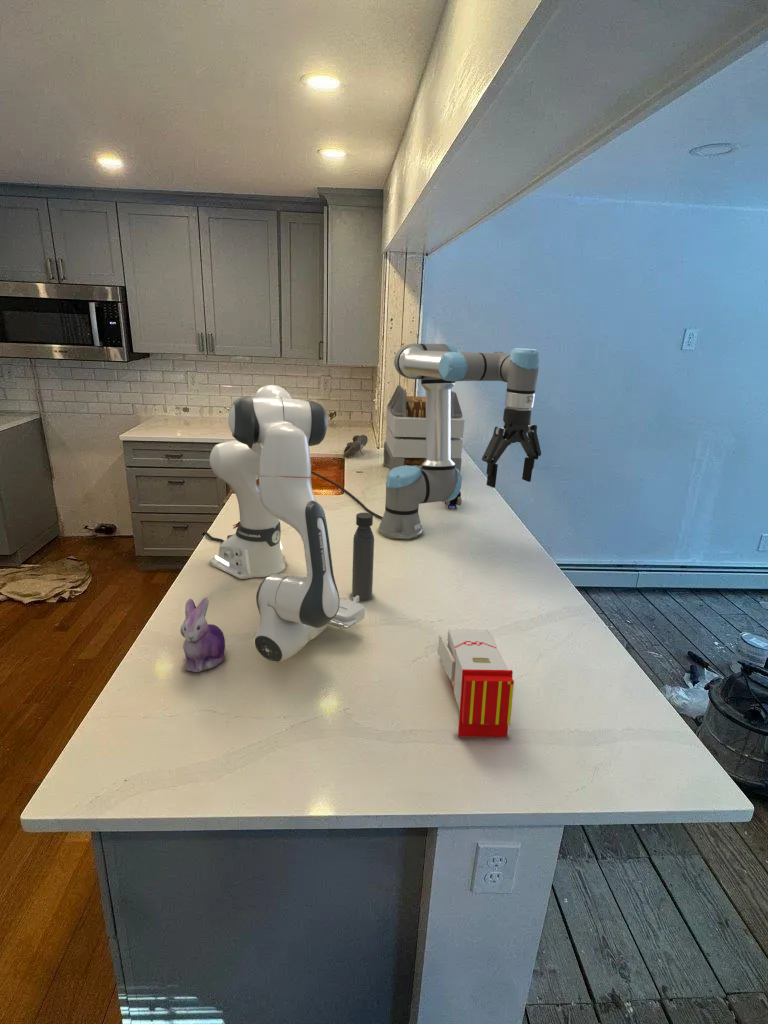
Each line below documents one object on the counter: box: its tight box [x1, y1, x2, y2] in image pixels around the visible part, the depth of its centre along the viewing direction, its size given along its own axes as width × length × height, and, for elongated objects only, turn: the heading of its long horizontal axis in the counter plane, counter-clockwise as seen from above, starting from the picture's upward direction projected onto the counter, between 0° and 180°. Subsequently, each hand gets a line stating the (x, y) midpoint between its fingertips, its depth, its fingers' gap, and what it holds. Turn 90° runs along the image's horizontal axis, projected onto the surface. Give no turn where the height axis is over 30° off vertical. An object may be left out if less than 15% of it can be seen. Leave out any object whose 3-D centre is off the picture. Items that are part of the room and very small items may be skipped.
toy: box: [437, 628, 515, 738], centre depth 117 cm, size 12×13×30 cm
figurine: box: [180, 597, 226, 673], centre depth 122 cm, size 9×10×15 cm
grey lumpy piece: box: [343, 434, 369, 459], centre depth 304 cm, size 22×10×15 cm
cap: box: [355, 512, 374, 527], centre depth 148 cm, size 4×4×2 cm
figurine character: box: [444, 491, 462, 510], centre depth 230 cm, size 7×8×15 cm
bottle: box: [351, 526, 375, 602], centre depth 152 cm, size 6×6×23 cm
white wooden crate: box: [383, 384, 465, 475], centre depth 268 cm, size 34×33×41 cm
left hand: (340, 593), depth 144 cm, fingers open, 8 cm apart
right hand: (508, 483), depth 160 cm, fingers open, 13 cm apart
